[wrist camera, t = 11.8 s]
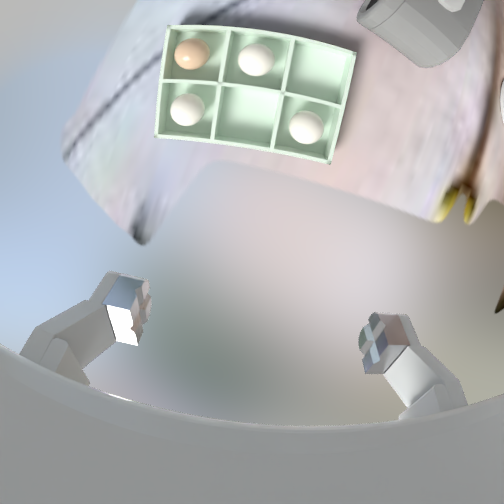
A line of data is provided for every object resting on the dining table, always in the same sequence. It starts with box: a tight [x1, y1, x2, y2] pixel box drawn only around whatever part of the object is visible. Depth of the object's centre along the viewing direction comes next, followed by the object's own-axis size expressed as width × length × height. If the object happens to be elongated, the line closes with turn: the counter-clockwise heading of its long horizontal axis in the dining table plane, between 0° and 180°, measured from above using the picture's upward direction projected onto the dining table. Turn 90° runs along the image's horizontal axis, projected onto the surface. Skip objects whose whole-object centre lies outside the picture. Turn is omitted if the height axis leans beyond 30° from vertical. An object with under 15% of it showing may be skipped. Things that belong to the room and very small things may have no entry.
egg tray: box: [154, 25, 357, 164], centre depth 30 cm, size 23×16×4 cm
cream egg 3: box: [289, 110, 324, 144], centre depth 31 cm, size 4×4×4 cm
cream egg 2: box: [238, 43, 275, 76], centre depth 27 cm, size 4×4×4 cm
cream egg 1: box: [170, 93, 205, 126], centre depth 31 cm, size 4×4×4 cm
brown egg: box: [174, 38, 210, 70], centre depth 27 cm, size 4×4×4 cm
